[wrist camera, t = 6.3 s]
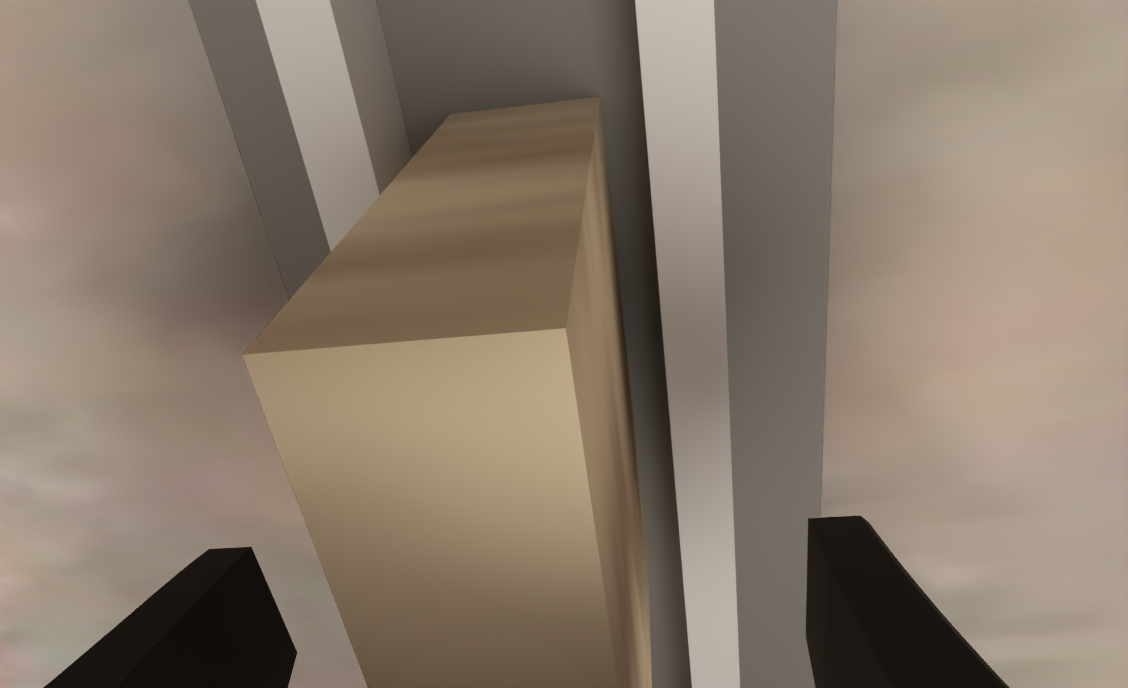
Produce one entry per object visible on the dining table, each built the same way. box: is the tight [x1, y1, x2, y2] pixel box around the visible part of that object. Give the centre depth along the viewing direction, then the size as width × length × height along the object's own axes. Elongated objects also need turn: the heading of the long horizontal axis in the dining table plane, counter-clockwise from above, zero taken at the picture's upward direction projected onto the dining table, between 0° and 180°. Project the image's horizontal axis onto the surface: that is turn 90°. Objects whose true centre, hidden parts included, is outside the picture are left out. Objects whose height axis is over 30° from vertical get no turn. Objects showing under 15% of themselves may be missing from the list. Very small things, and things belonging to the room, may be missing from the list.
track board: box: [189, 0, 837, 688], centre depth 14 cm, size 24×10×5 cm, turn 8°
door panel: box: [242, 96, 652, 688], centre depth 12 cm, size 10×2×8 cm, turn 8°
